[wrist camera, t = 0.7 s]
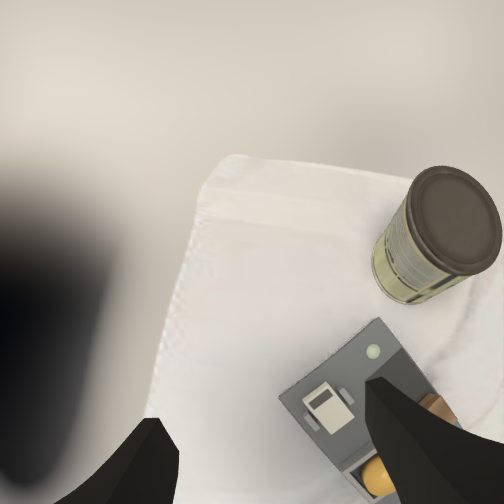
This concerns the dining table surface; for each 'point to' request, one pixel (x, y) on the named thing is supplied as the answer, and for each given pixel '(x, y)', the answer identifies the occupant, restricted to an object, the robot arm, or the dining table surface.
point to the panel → (357, 398)
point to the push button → (376, 477)
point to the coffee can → (437, 236)
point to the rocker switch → (328, 408)
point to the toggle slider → (438, 407)
